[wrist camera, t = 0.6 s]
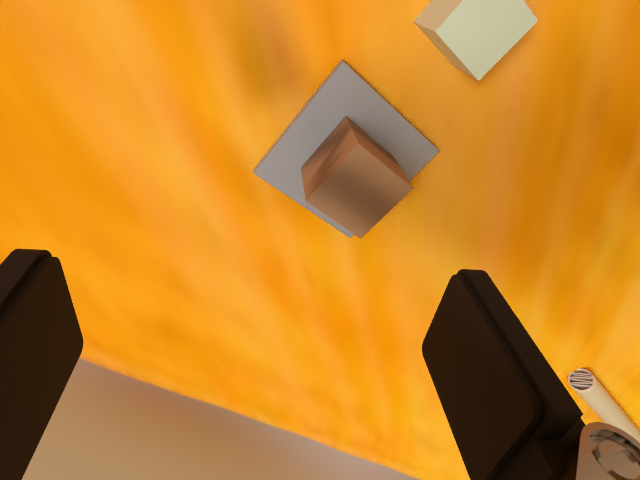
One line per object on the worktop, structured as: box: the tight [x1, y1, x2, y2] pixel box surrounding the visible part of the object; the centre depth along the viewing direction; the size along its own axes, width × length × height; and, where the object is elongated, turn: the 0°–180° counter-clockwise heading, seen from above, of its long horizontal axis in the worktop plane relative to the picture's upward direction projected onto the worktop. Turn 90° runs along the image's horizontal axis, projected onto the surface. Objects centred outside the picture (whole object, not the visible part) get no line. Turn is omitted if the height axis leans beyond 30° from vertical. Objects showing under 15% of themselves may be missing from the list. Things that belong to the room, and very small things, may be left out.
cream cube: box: [414, 0, 538, 81], centre depth 29 cm, size 5×5×5 cm
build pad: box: [254, 60, 440, 238], centre depth 36 cm, size 12×12×1 cm
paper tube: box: [568, 368, 640, 443], centre depth 67 cm, size 4×30×4 cm, turn 42°
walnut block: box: [301, 116, 413, 238], centre depth 33 cm, size 6×6×6 cm
